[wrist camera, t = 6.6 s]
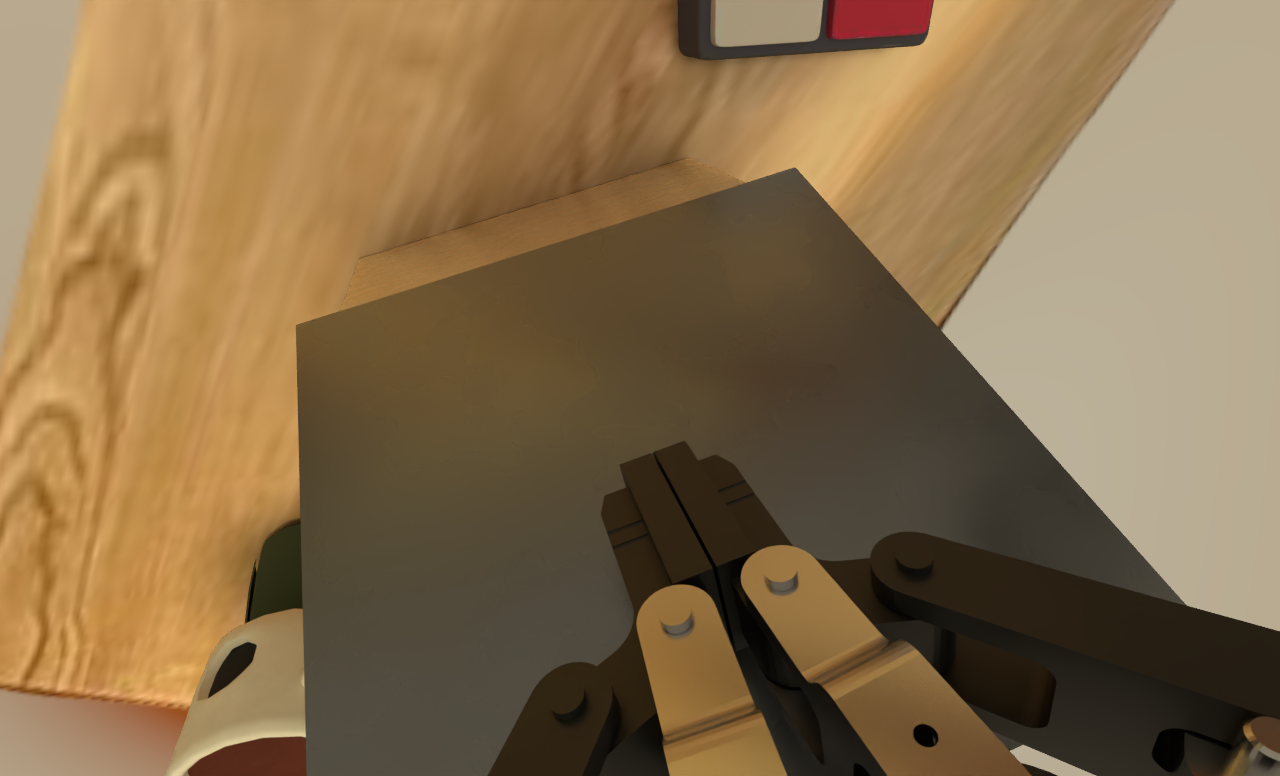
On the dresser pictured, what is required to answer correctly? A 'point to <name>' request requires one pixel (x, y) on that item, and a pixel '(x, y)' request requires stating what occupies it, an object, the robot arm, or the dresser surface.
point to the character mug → (254, 681)
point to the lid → (626, 458)
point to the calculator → (798, 26)
